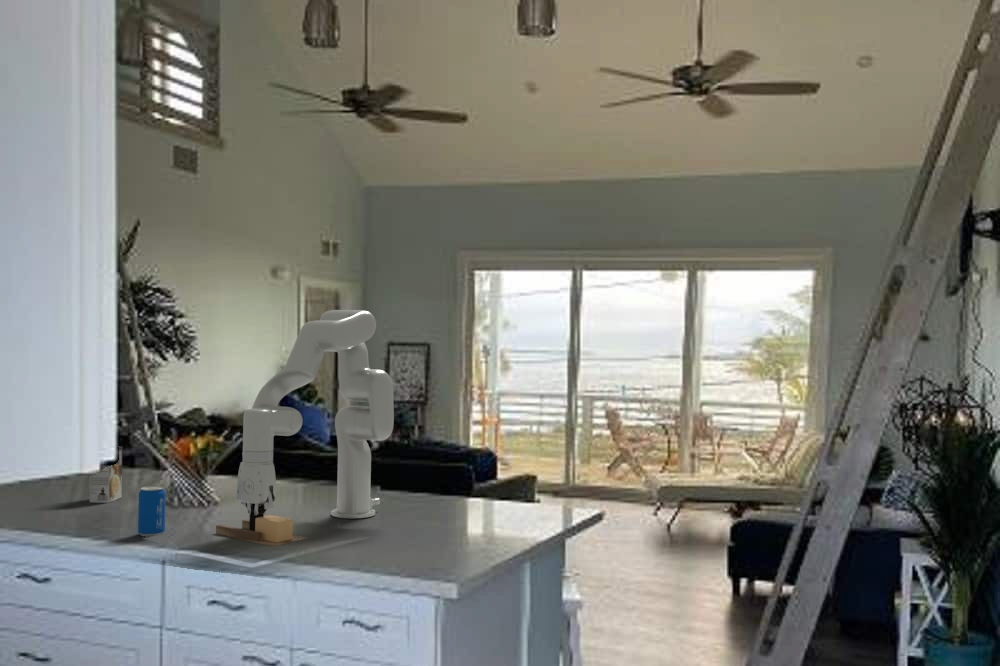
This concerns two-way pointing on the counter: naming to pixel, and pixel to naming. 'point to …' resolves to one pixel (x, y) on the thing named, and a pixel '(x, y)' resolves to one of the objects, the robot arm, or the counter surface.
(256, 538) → the brown piece
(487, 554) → the counter surface
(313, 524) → the counter surface
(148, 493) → the beverage can
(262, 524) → the block
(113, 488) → the coffee box
